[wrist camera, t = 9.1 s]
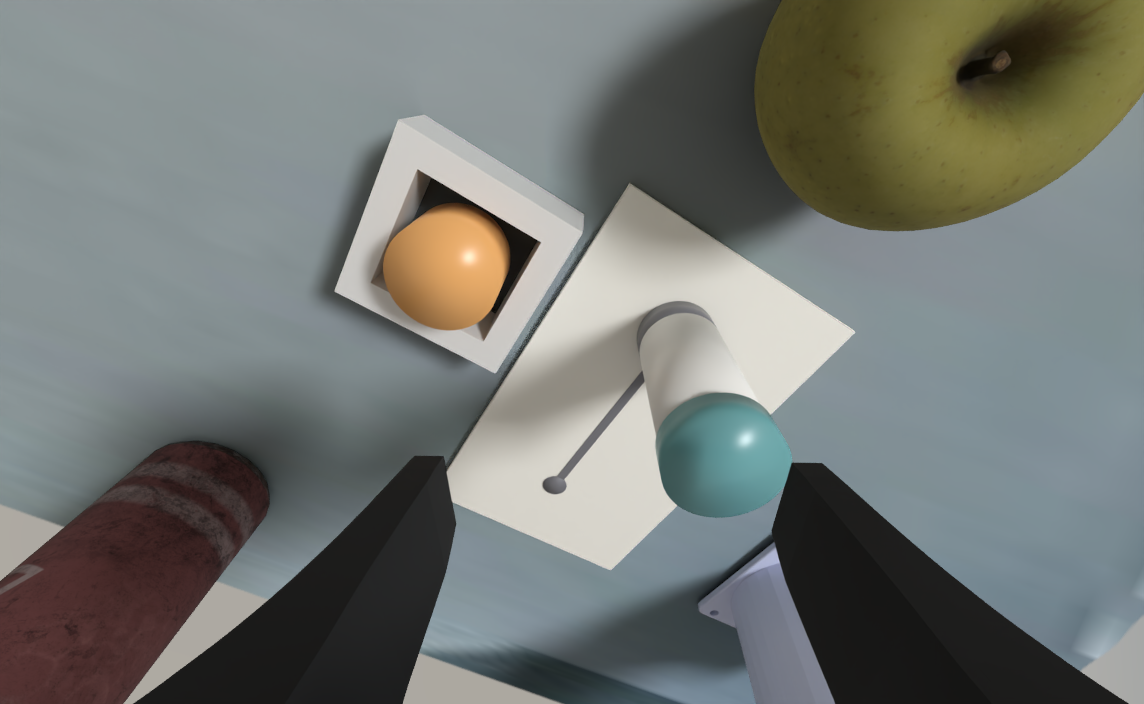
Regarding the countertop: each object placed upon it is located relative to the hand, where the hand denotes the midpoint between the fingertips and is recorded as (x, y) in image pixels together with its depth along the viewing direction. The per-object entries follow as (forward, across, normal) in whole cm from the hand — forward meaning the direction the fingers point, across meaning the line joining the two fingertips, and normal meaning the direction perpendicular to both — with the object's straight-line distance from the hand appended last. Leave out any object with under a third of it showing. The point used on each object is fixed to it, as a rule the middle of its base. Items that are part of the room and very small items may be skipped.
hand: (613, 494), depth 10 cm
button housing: (+11, +5, -2) cm, 12 cm away
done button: (+9, +5, -2) cm, 11 cm away
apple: (+11, -8, -8) cm, 15 cm away
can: (+11, +20, +11) cm, 25 cm away
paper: (+10, -1, +6) cm, 12 cm away
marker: (+10, -3, +2) cm, 11 cm away
